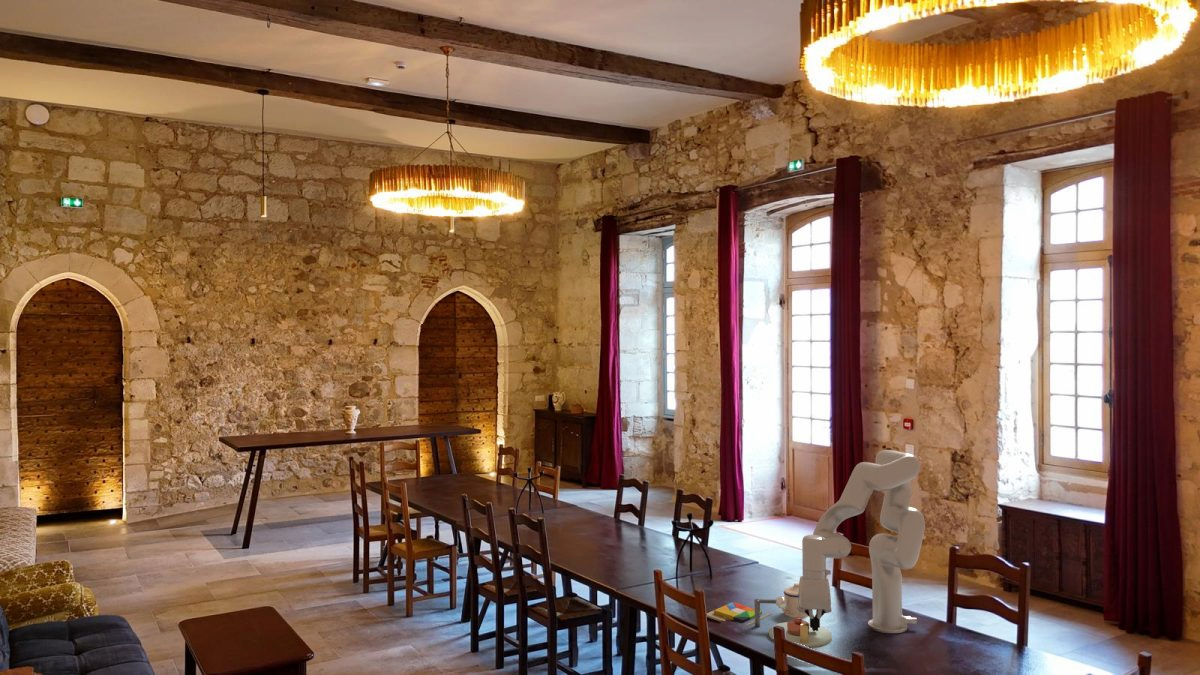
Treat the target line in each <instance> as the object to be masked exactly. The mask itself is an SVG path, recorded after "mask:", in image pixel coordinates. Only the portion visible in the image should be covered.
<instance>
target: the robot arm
mask: <svg viewBox="0 0 1200 675" xmlns="http://www.w3.org/2000/svg"><path fill="white" fill-rule="evenodd" d="M920 471H921V462H920V460H919V458H918V457H917V456H915V454H914V455H913V454H911V453H908V452H903V451H897V450H892V449H884V450H880V451H878V452H877V454H876V456H875V463H873V462H869V461H868V462H867V461H863V462H862V461H861V462H859V463H858V464H856V466H854V468H853V470H852V472H851V474H850V476H849V479H848V481H847V483H846V485H845V488H844V490H843V491H842V493H841V496H840V498H839V500H838V501H836V503H834V504H833V505H832V506H830V507H829V508H828V509H827V510H826V511H825V512H824V513H823V514H822V515H821V517H820V518H819V519H818V522H817V524H816V526H815V527H814V530H813V533H812V534H807V535H804V536H803V537H802V540H801V542H802V545H801V547H802V549H801V550H802V551H801V554H802V559H801V560H802V563H801V564H802V575H801V576H800V577H799V581H798V584H799V589H798V603H799V606H798V611H799V612H803V613H806V614H807V615H808V617H809V623H810V628H812V630H813V631H815V630H816V631H818V628H820V626H821V618H822V617H823V616H824V615H825V614H829V613H832V612H833V610H832V607H831V606H832V598H831V597H832V596H831V586H830V581H829V577H828V576H830V575H831V574H832V571H831V570H828V569H827V559H842V558H843V559H844V558H845V557H847V556H848V555H849V554H850V553H851V550H852V544H851V542H850V540H849V539H848V538H847V537H845V536H844V535H841V534H839V533H836V529H837V528H838V526H839V525H840V524H841V523H842V522H844V521H845V520H846V519H847V520H848V519H849V518H852V517H855V516H858V515H861V514H863V513H864V511H865V510H866V507H867V505H868V503H869V500H870V499H871V496H872V494H873V492H874V490H875V491H878V492H884V496H883V502H882V506H881V510H880V516H879V523H880V524H881V526H882V527H883V528H885V529H886V530H888V531H890V532H894V533H897V536H896V535H892V534H889V533H884V532H882V533H877V534H874V536H873V537H872V538H871V539H870V541H869V543H868V544H869V545H868V553H869V558H870V564H871V572H872V574H871V576H872V581H871V583H872V584H871V586H872V589H871V590H872V594H871V596H872V599H871V600H872V605H871V606H872V619H870V620H868V621H867V624H868V626H869V627H870V628H871V630H872V631H876V632H879V633H882V634H883V633H884V634H900V633H904V632H906V631H907V630H908V624H911V625H912V624H913V625H915V624H916V625H917V623H918V619H917V617H911V615H907V616H906V615H904V614H903V592H902V590H903V588H902V587H903V585H902V584H903V577H902V572H901V570H910V569H913V567H915V565H917V562H918V561H919V556H920V552H921V548H922V544H923V540H924V535H925V530H926V521H925V517H924V515H923V513H922V512H921V511H920V510H919V509H917V508H916V507H912V506H911V502H912V500H911V499H912V495H913V494H912V491H913V490H912V483H911V481H912V480H913V479H915V478H917V476H918V475H919V474H920ZM814 610H816V612H815V614H814Z"/></svg>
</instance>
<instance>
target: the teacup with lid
mask: <svg viewBox="0 0 1200 675" xmlns="http://www.w3.org/2000/svg"><path fill="white" fill-rule="evenodd" d="M798 589H799V582H798V583H797V582H795V583H794V584H793V585H792V586H790V587H786V588H785V589H784V590H783V594H784V596H783V597H784V598H785V599H786V601H787V605H786V607H785V608H780V609H781V611H782V612H783V613H784V615H785V616H787V617H790V618H793V619H794V618H795V617H800V618H802V619H804V618H808V617H809V616H808V615H807V614H806V613H803V612H799V611H798V606H799V603H798Z"/></svg>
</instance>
